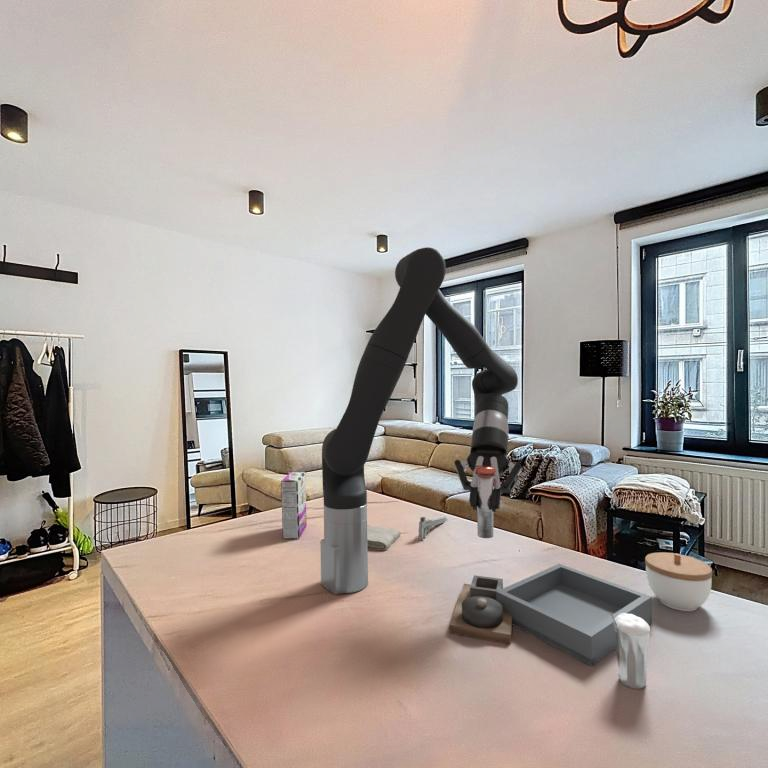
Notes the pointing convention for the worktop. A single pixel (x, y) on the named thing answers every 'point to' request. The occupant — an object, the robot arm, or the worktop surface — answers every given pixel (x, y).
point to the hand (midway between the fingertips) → (484, 508)
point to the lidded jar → (678, 580)
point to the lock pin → (484, 500)
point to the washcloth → (381, 537)
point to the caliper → (428, 525)
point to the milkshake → (632, 649)
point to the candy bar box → (293, 505)
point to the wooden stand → (481, 612)
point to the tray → (572, 610)
